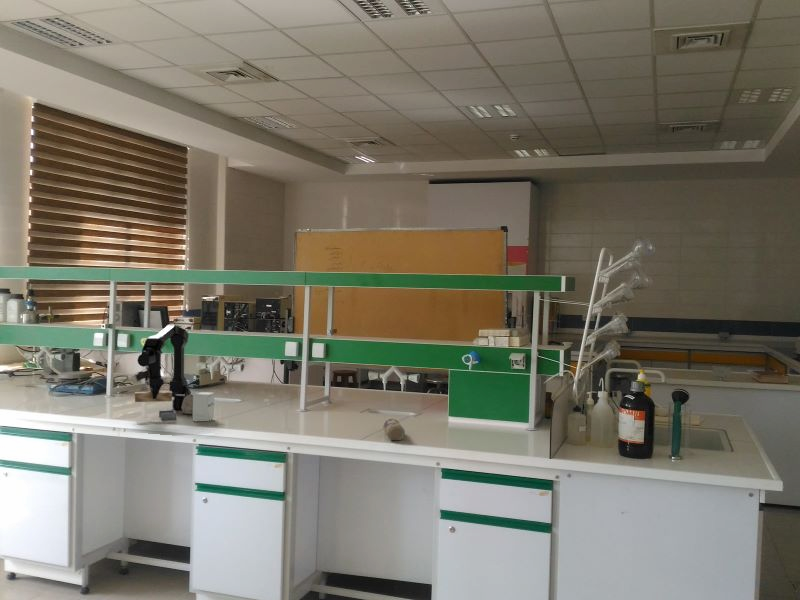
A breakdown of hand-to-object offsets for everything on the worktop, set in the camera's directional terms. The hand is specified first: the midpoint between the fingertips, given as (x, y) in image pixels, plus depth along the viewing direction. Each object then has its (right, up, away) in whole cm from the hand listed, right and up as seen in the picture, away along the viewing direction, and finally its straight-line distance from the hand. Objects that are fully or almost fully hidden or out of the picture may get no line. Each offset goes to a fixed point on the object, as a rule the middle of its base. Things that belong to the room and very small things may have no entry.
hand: (153, 397), depth 338 cm
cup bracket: (+5, -10, +3) cm, 12 cm away
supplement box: (+23, -10, -1) cm, 25 cm away
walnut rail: (0, -1, 0) cm, 1 cm away
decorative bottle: (+111, -13, -25) cm, 115 cm away
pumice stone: (+16, -10, +14) cm, 23 cm away
